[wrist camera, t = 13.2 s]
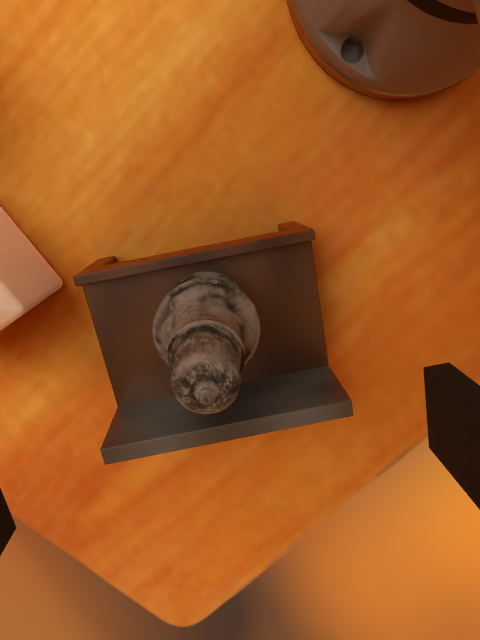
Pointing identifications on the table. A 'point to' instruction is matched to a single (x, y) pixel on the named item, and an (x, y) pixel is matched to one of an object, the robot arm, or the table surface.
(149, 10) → the table surface
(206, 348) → the salt shaker
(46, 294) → the container
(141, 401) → the spice rack
